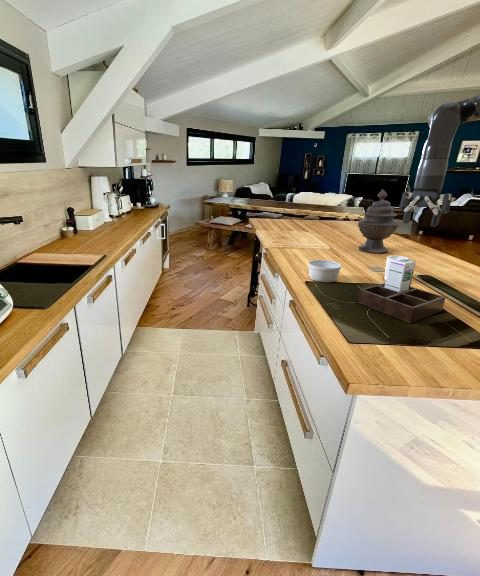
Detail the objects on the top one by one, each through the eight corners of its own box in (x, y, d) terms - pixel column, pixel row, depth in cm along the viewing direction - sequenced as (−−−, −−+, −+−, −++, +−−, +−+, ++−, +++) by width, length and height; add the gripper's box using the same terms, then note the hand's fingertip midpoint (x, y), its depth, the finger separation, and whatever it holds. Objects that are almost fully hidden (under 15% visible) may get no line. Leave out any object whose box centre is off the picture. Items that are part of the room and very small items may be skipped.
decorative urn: (395, 255, 170) (404, 188, 160) (353, 253, 180) (360, 190, 170) (394, 249, 186) (402, 187, 176) (356, 248, 196) (362, 189, 186)
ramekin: (327, 273, 146) (330, 258, 144) (345, 282, 134) (348, 267, 131) (301, 275, 144) (303, 260, 142) (316, 284, 132) (319, 269, 129)
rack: (441, 311, 107) (446, 297, 105) (409, 323, 99) (413, 308, 97) (388, 293, 122) (391, 280, 120) (357, 302, 114) (360, 289, 112)
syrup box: (397, 302, 112) (406, 263, 107) (381, 296, 117) (390, 259, 112) (407, 299, 114) (417, 261, 109) (392, 293, 119) (400, 257, 114)
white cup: (381, 276, 141) (386, 254, 138) (402, 278, 138) (407, 256, 134) (383, 281, 135) (388, 259, 131) (404, 284, 131) (410, 261, 128)
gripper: (463, 173, 96) (449, 226, 102) (414, 173, 108) (404, 221, 114) (450, 174, 93) (436, 229, 99) (401, 174, 105) (391, 223, 111)
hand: (419, 224), depth 106 cm, fingers open, 8 cm apart
